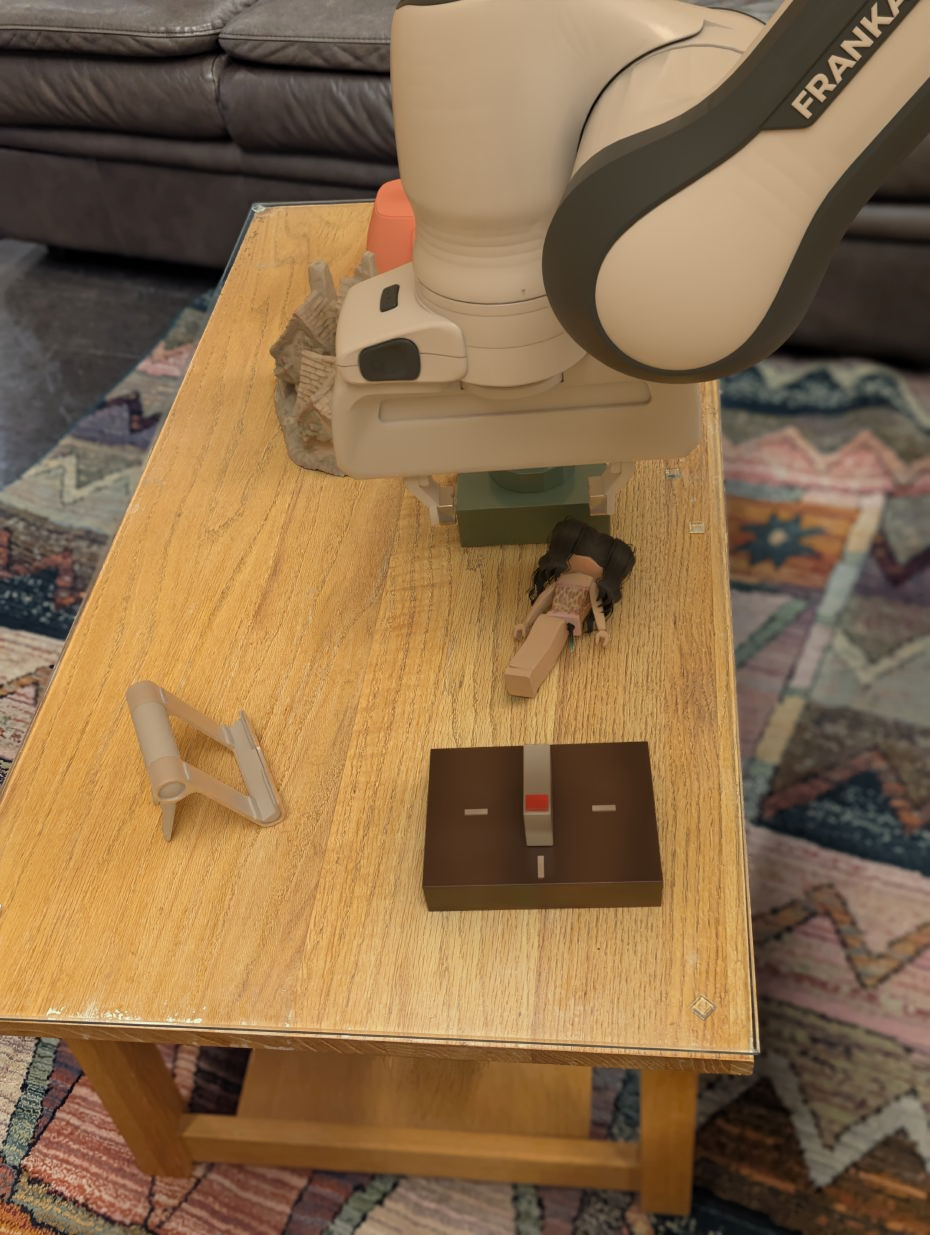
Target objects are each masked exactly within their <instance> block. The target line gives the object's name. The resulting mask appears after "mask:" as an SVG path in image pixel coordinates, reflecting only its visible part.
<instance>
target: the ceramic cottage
mask: <svg viewBox="0 0 930 1235" xmlns="http://www.w3.org/2000/svg"><path fill="white" fill-rule="evenodd" d="M307 274H308V275H307V276H308V277H307V278H308V284H309V290H310V292H309V294H308V295H307V296H306V298H305V299H304V301H303V302H302V304H300V305H299V306H298V307H297V308H296V309H295V310H294V311H293V313H292V316H291V318H290V319H289V321H288V324H287V325H286V326H285V329H284V331H283V332H282V334H280V335H279V337H278V339H277V340H276V341H275V342H274V343H273V344H272V345H271V346H270V348H269V354H270V356H271V357H272V358H273V359H274V365H275V368H273V374H274V377H275V378H277V385H276V387H275V389H274V390H275V392H274V393H275V394H274V399H273V400H274V408H275V411H276V412H275V413H276V415H277V418H278V421H279V424H280V427H281V428H280V430H281V431H282V434H283V438H284V442H285V448H286V450H287V456H288V457H289V458H290V460H291V461H292V462H293V463H294V464H295V465H297V466H299V467H303V468H304V469H308V470H313V471H316V469H317V470H319V471H322V472H324V473H325V474H328V473H329V474H331V475H333V476H336V477H337V476H339V477H342V478H344V477H345V476H349V475H347V474H346V473H345V472H343V471H342V470H341V469H340V468H339V467H338V465H337V461H336V457H335V451H334V445H333V437H332V423H331V405H332V397H333V389H334V381H335V376H336V370H337V362H336V349H335V340H336V329H337V323H338V318H339V314H340V310H341V307H342V304H343V301H344V299H345V296H346V294H347V291H348V290H349V289H350V288H351V287H352V286H354V285H356V284H358V283H360V282H362V281H365V280H367V279H370V278H372V277H375V276H378V275H379V272H378V270H377V268H376V264H375V254H374V253H372V252H370V251H366V250H365V252H364V253H363V254H362V258H361V261H360V262H359V263H357V264H356V266H355V269H354V274H353V276H352V277H349V276H345V275H342V276H340V283H339V285H338V292H337V290H336V286H335V284H334V280H333V276H332V272H331V270H330V267H329V264H328V263H326V261H325V260H322V259H314V260H313V261H311V262H310V263H309V266H308V268H307Z"/></svg>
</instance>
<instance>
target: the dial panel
mask: <svg viewBox="0 0 930 1235" xmlns="http://www.w3.org/2000/svg"><path fill="white" fill-rule="evenodd" d="M524 745H525V744H523V745H503V746H502V745H501V746H499V745H497V746H496V745H495V746H494V745H493V746H469V747H468V746H467V747H443V748H442V747H440V748H430V750H429V765H428V766H429V767H428V782H427V783H428V784H427V801H426V816H425V817H426V818H425V830H424V831H425V832H424V849H423V865H422V866H423V867H422V880H421V881H422V883H421V888H422V893H423V897H424V901H425V904H426V908H427V911H428V912H465V911H466V912H469V911H471V912H472V911H473V912H474V911H511V910H512V911H514V910H515V911H516V910H520V911H521V910H556V909H557V910H562V909H563V910H565V909H567V910H568V909H606V908H607V909H608V908H609V909H611V908H612V909H613V908H651V907H652V908H653V907H655V908H656V907H662V904H663V890H664V879H663V878H664V876H663V867H662V858H661V857H662V856H661V849H660V840H659V831H658V830H659V829H658V820H657V812H656V802H655V792H654V784H653V783H654V782H653V775H652V764H651V755H650V754H651V753H650V746H649V745H650V744H649V741H648V740H641V741H640V740H639V741H638V740H637V741H613V742H609V741H608V742H585V743H584V742H582V743H581V742H579V743H555V744H551V743H550V752H551V767H552V796H553V845H552V846H527V844H526V835H525V826H524V817H523V746H524Z"/></svg>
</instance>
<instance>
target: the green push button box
mask: <svg viewBox="0 0 930 1235" xmlns="http://www.w3.org/2000/svg"><path fill="white" fill-rule="evenodd" d="M607 467H608V463H602V464H587V465H572V466H557V467H543V468H528V469H513V470H499V471H484V472H469V473H457V476H456V477H457V478H456V496H455V502H456V524H457V528H458V529H457V530H458V537H459V542H460V543H459V545H460V547H461V548H469V547H470V548H472V547H489V546H490V547H491V546H509V545H510V546H511V545H528V544H529V545H530V544H545V543H546V544H550V539H551V536H552V533H551V531H552V530H553V529H554V528H555V525H556V524H557V523H558V522H560V521H563V520H564V519H565V518H566V516H568V515H571V516H572V517H571V516H568V517H567V519H575V520H579V521H583V522H584V523H587V524H588V526H591V527H593V528H595V529H596V530H598V532H599V533H600V534H601V533H605V534H608V535H611V515H593V516H590V507H589V492H588V491H589V487H588V477H593V476H602V474H603V473H604V471H605V470H606V468H607ZM573 517H574V518H573ZM567 519H566V520H567ZM552 532H553V531H552ZM550 533H551V535H550ZM549 535H550V537H549ZM548 537H549V539H548ZM547 540H548V542H547Z"/></svg>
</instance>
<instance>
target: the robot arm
mask: <svg viewBox="0 0 930 1235" xmlns="http://www.w3.org/2000/svg"><path fill="white" fill-rule="evenodd" d="M389 39H390V40H389V41H390V42H389V70H390V71H389V74H390V94H391V95H390V96H391V107H392V108H391V109H392V120H393V128H394V129H393V130H394V139H395V140H394V141H395V149H396V155H397V163H398V171H399V177H400V178H399V179H401V183H402V186H403V189H404V192H405V194H406V196H407V199H408V201H409V203H410V205H411V207H412V210H413V214H414V218H415V239H414V244H413V254H412V261H411V262H409V263H407V264H404V265H402V266H400V267H397V268H395V269H393V270H390V271H388V272H385V273H383V274H380V275H378V276H375V277H372V278H370V279H367V280H365V281H362V282H360V283H358V284H356V285H354V286H352V287H351V288H350V289H349V290H348V291H347V294H346V296H345V299H344V301H343V304H342V307H341V310H340V314H339V318H338V323H337V329H336V340H335V349H336V362H337V370H336V376H335V381H334V389H333V397H332V405H331V423H332V437H333V445H334V451H335V457H336V461H337V465H338V467H339V468H340V469H341V470H342V471H343V472H345V473H346V474H347V475H348V476H349V477H350V478H351V479H353V480H356V481H368V480H378V479H392V478H393V479H395V478H396V479H397V478H403V479H404V486H405V488H406V490H408V491H409V492H410V494H412V495H413V496H414V497H415V498H416V499H417V500H418V501H419V502H420V503H421V504H422V505H423V506H424V507H426V508H428V514H429V520H430V526H431V527H442V526H455V525H457V516H456V498H455V497H456V496H455V488H454V485H447V486H446V485H444V486H443V485H442V486H440V484H439V483H438V481H436V480H435V478H434V477H433V476H437V475H453V474H454V475H455V474H458V473H469V472H484V471H499V470H513V469H528V468H543V467H557V466H572V465H587V464H602V463H607V468H606V470H605V471H604V473H603V474H602V476H593V477H588V487H589V491H588V492H589V507H590V516H593V515H610V516H612V515H616V495H619V493H620V492H621V491H622V489H623V488H625V486H626V485H627V483H628V482H629V481H630V479H631V478H633V476H634V474H635V473H636V462H645V461H659V460H660V461H661V460H674V459H683V458H686V457H688V456H689V455H690V454H691V453H692V452H693V451H694V450H695V449H696V448H697V447H698V446H699V445H700V444H701V442H702V439H703V411H702V410H703V408H702V396H701V389H700V388H701V387H700V383H707V382H712V381H718V380H721V379H725V378H729V377H731V376H734V375H736V374H740V373H741V372H743V371H746V370H748V369H750V368H752V367H754V366H755V365H757V364H760V363H761V362H762V361H764V360H766V358H769V357H770V356H771V355H772V354H773V353H776V351H777V350H779V348H781V346H783V345H784V344H785V343H786V342H787V341H788V339H789V338H790V337H791V336H792V335H793V334H794V333H795V331H796V330H797V328H798V327H799V326H800V324H801V323H802V321H803V320H804V318H805V316H806V315H807V313H808V311H809V309H810V307H811V305H812V303H813V301H814V299H815V297H816V295H817V293H818V290H819V288H820V286H821V284H822V281H823V279H824V276H825V274H826V273H827V270H828V268H829V265H830V263H831V261H832V260H833V257H834V255H835V253H836V250H837V249H838V247H839V245H840V243H841V241H842V240H843V238H844V236H845V235H846V233H847V231H848V230H849V228H850V226H851V225H852V223H853V222H854V221H855V219H856V218H857V216H858V215H859V213H860V212H861V211H862V209H863V208H864V207H865V206H866V205H867V203H868V202H869V200H870V199H871V198H872V197H873V196H874V195H875V193H877V191H878V190H880V187H882V185H883V184H884V183H885V182H886V181H887V180H888V179H889V177H890V176H892V174H893V173H894V172H896V170H897V169H898V168H899V167H900V166H901V164H902V163H904V162H905V160H906V159H907V158H908V157H909V156H910V155H911V154H912V153H913V152H914V151H915V150H916V148H918V146H919V145H920V144H921V143H922V142H924V140H925V138H927V137H928V135H929V134H930V0H784V1H783V2H782V3H781V5H780V6H778V8H777V10H776V11H775V12H774V14H772V16H771V17H770V19H769V20H768V21H767V22H765V21H763V20H761V19H759V18H758V17H756V16H754V15H752V14H749V13H747V12H744V11H741V10H739V9H738V10H737V9H733V8H727V7H722V6H721V7H720V6H701V5H697V4H693V3H689V2H684V1H680V0H399V1H398V3H397V4H396V7H395V9H394V12H393V16H392V21H391V26H390V38H389Z"/></svg>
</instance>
